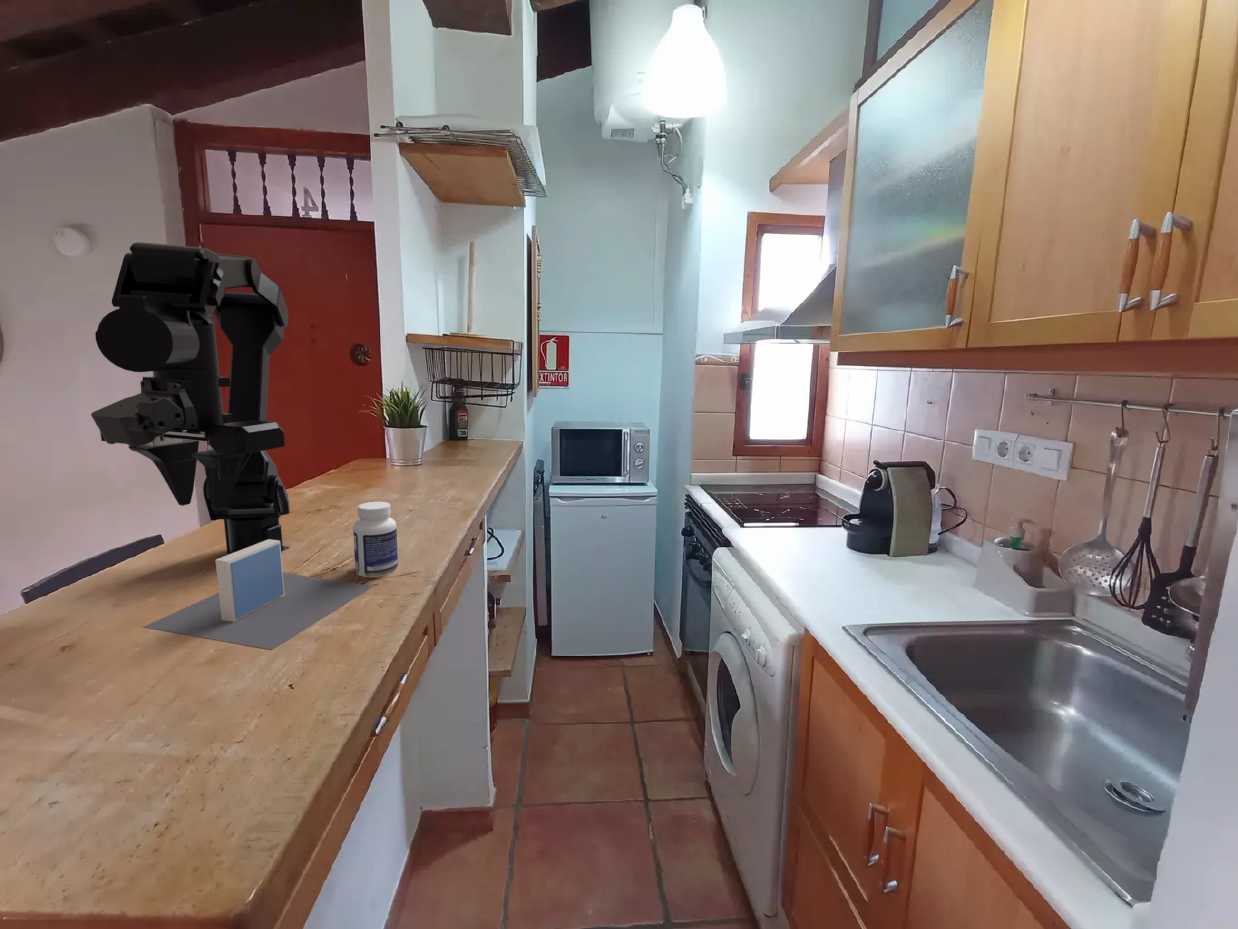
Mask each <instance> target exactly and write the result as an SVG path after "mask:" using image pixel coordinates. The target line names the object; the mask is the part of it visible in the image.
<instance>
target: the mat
mask: <svg viewBox="0 0 1238 929" xmlns="http://www.w3.org/2000/svg"><path fill="white" fill-rule="evenodd" d="M283 581H284V594H285V596H283V597H281V598H279V599H277V600H275V601H273V602H271V603H269V604H267V605H265V606H264V607H262V608H260V609H258V610H256V611H254V612H252V613H250V614H248V615H246V616H244V617H243V618H241V619H239V620H237V621H235V622H231V621H225V620H222V617H221V608H220V599H219V592H217V593H214V594H212V595H210V596H208V597H206V598H203V599H202V600H199V601H196V602H195V603H192V604H190V605H188V606H186V607H183V608H181V609H180V610H178V611H175V612H173V613H170V614H168V615H165V616H164V617H162V618H159V619H157V620H154V621H153V622H151V623H149V624H147V625H144V626H143V628H147V629H150V630H158V631H162V632H163V631H164V632H169V633H174V634H179V635H184V636H185V635H186V636H190V637H196V638H201V639H207V640H213V641H219V642H225V643H229V644H235V645H241V646H246V647H251V648H257V649H263V650H268V651H273V650H274V649H276V648H279V646H282V645H283V644H284V643H286V642H288V641H289V640H291V639H293V637H295V636H297V635H298V634H300V633H301V632H303V631H304V630H307V629H308V628H310V627H311V626H313V625H315V624H317V623H318V622H319V621H320V620H323V619H324V618H325V617H328V616H329V615H330V614H332V613H334V612H335V611H337V610H338V609H340V608H341V607H344V606H345V605H346V604H348V603H349V602H351V601H353V600H354V599H356V598H358V597H359V596H361V595H363V594H364V593H366V592H367V591H369V590H370V589H372V588H373V587H374V586H373V585H369V584H368V585H367V584H362V583H355V582H348V581H347V582H346V581H340V580H333V579H327V578H320V577H312V576H306V575H300V574H299V575H298V574H293V573H286V572H285V573H284V572H283Z"/></svg>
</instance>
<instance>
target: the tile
mask: <svg viewBox="0 0 1238 929" xmlns="http://www.w3.org/2000/svg"><path fill="white" fill-rule="evenodd" d="M220 557H221V558H216V559H215V570H216V578H217V587H218V593H219V599H220V608H221V617H222V620H225V621H231V622H235V621H237V620H239V619H241V618H243V617H244V616H246V615H248V614H250V613H252V612H254V611H256V610H258V609H260V608H262V607H264V606H265V605H267V604H269V603H271V602H273V601H275V600H277V599H279V598H281V597H283V596H285V594H284V581H283V573H284V572H283V560H282V559H283V558H282V552H281V544H280V541H279V540H271V539H268V540H265V541H263V542H260V543H258V544H255V545H252V546H250V547H247V548H245V549H242V550H239V551H237V552H234V553H232V554H229V555H227V556H224V557H223V556H220Z"/></svg>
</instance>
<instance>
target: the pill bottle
mask: <svg viewBox="0 0 1238 929" xmlns="http://www.w3.org/2000/svg"><path fill="white" fill-rule="evenodd" d="M357 511H358V512H357V516H358V518H360V519H359V520H357V521H355V523H354V525H353V527H352V528H353V529H352V532H353V533H352V536H353V551H354V566H355V568H354V569H355V570H354V571H355V573H356V575H357V576H361V577H364V578H379V577H385V576H388V575H392V574H394V573H395V572H397V570H398V569H399V561H398V560H399V558H398V556H399V554H398V531H397V530H398V529H397V522H396V520H395V519H393V518H392V517H390V516H391V504H390V503H389V502H386V501H368V502H364V503H360V504H359V505H358V506H357Z"/></svg>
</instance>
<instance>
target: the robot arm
mask: <svg viewBox="0 0 1238 929" xmlns="http://www.w3.org/2000/svg"><path fill="white" fill-rule="evenodd" d="M129 251H130V252H127V253H126V254H124V256H123V258H122V262H121V266H120V270H119V273H118V277H117V280H116V284H115V287H114V291H113V294H112V298H111V304H112V306H113V307H114V308H117V309H114V310H112V311H109V313H107V314H106V315H105V316H104V317H103V318H102V319H101V320H100V321H99V323H98V325H97V330H96V331H95V334H94V335H95V342H96V344H97V347H98V349H99V351H100V352H101V354H102V356H104V358H105V359H107V360H108V362H109V363H111V364H113V365H114V366H116V367H118V368H120V369H122V370H125V371H127V372H134V373H147V372H152V375H153V376H142V380H141V381H140V393H138V394H135V395H132V396H129V397H125V398H122V399H121V400H117V401H115V402H113V403H111V404H108V405H106V406H103V407H101V408H100V409H97V410H95V411H92V412H91V414H90V416H91V418H92V419H93V421H94V423H95V425H96V426H97V428H98V429H99V432H100V439H101V440H100V441H101V442H106V443H107V444H109V445H116V444H122V445H123V444H124V445H128V449H129V450H131V451H132V452H136V453H138V454H140V455H142V456H143V457H146V458H147V459H149V460H150V461H152V463H153V464H154V465H155V467H156V468H157V470H158V471H159V473H160V474H161V476H162V478H163V479H164V481H165V483H166V485H167V486H168V489H169V490H170V491H171V493H172V495H173V497H174V499H175V500H176V502H177V504H178V505H179V506H182V507H183V506H187V505H190V504H191V503H192V498H193V493H194V488H195V479H196V472H197V462H199V463H201V465H203V467H204V472H205V473H204V474H205V478H204V481H203V488H202V491H203V498H204V501H205V505H206V508H207V511H208V515H209V519H210V521H217V520H223V523H224V536H225V544H226V545H225V546H226V552H225V553H222V554H219V555H218V556H217V559H219V558H221V557H224V556H227V555H229V554H232V553H234V552H237V551H239V550H242V549H245V548H247V547H250V546H252V545H255V544H258V543H260V542H263V541H265V540H268V539H271V540H279V541H280V544H281V553H283V552H284V551H286V550H289V549H290V546H285V545H283V533H282V525H281V524H280V521H279V519H280V518H282V516H285V515H289V514H290V513H291V510H290V507H291V506H290V500H289V494H288V492H287V490H286V487H285V485H284V483H283V481H282V479H281V477H280V476H279V475H278V467H277V465H276V463H275V462H274V461H273V459H272V457H271V456H270V455H269V453H268V452H267V451H269V450H272V449H273V450H274V449H279V448H283V447H285V446H286V445H285V432H284V429H283V428H282V426H280V425H279V423H277V421H268V420H267V418H268V400H269V381H270V380H269V378H270V362H271V361H270V358H271V355H272V354H273V353H274V352H275V351H276V349H277V348H279V347H280V345H281V344H282V343H283V341H284V337H285V334H284V333H285V328H286V327H288V325H289V310H288V306H287V304H286V300H285V298H284V295H283V292H282V290H281V288H280V286H278V285H277V284H276V283H275V282H274V281H272V280H271V279H270V278H268V276H266V275H265V274H264V273H263V272H261V270H260V267H259V264H258V262H257V260H256V259H255V258H251V257H249V256H247V255H238V254H237V255H236V254H223V253H216V252H214V251H212V250H210V249H208V248H207V247H200V246H199V247H198V246H190V245H189V246H186V245H177V244H176V245H175V244H166V243H165V244H164V243H156V242H155V243H154V242H143V241H142V242H141V241H137V242H133V243H132V244H131V245H130V246H129ZM241 287H242V288H251V289H252V291H253V292H244V291H243V292H241V291H228V290H230V289H236V288H241ZM227 289H228V290H227ZM225 290H227V291H226V292H225ZM224 292H225V293H224ZM212 313H214V314H215V315H216V318H217V320H218V321H219V327H220V329H221V331H222V332H223V333H224V335H225V336H226V337H227V339H228V341H229V343H230V344H231V358H230V360H231V362H230V375H229V376H230V377H229V376H228V377H225V376H220V374H221V373H220V365H219V364H220V363H219V357H218V346H217V345H218V344H217V337H216V335H217V334H216V325H217V322H218V321H217V320H216V318H215V316H214V315H212ZM225 387H227V388H228V387H229V389H228V390H229V391H228V392H229V394H228V404H227V405H228V406H227V407H228V410H227V413H226V412H224V405H223V396H222V388H225ZM200 441H201V442H208V444H206V446H207V447H206V449H207V450H202V451H199V446H200Z"/></svg>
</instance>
